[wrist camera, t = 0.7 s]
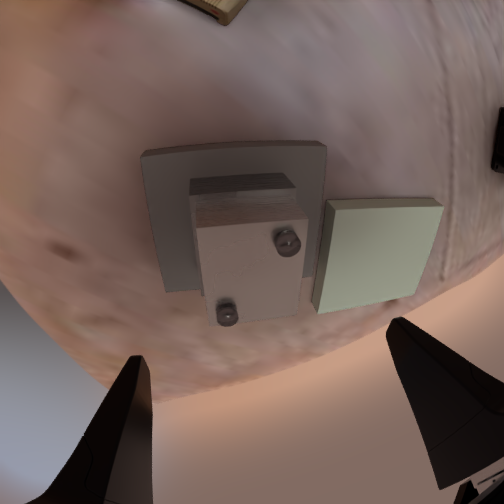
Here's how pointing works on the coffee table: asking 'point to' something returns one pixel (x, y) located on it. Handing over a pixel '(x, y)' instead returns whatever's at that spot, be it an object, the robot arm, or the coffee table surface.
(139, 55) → the coffee table surface
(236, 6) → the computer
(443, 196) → the coffee table surface
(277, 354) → the coffee table surface
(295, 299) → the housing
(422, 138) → the coffee table surface
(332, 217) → the stand
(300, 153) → the stand
